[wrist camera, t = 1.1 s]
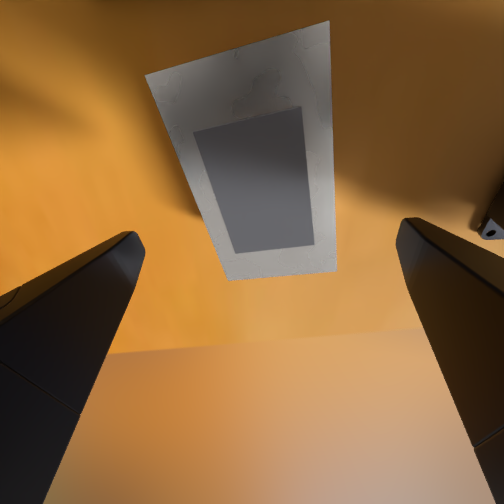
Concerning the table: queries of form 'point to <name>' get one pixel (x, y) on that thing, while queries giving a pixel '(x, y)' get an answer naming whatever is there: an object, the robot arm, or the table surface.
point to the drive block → (259, 150)
